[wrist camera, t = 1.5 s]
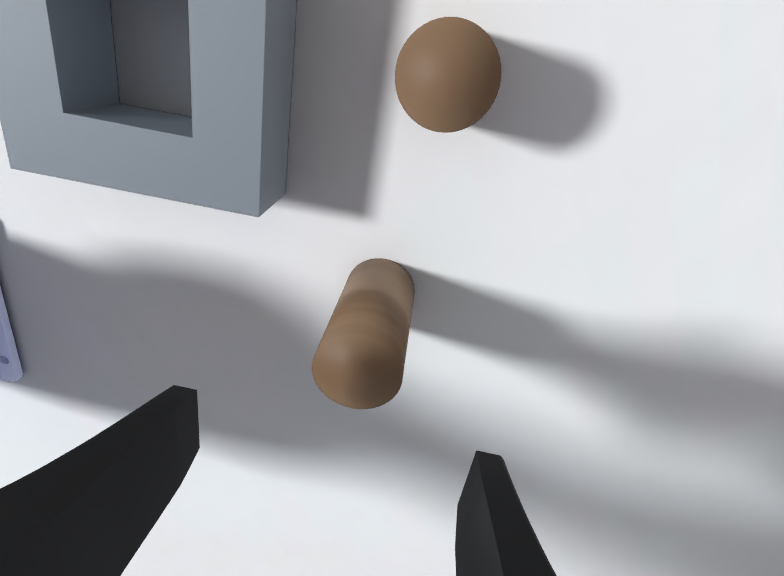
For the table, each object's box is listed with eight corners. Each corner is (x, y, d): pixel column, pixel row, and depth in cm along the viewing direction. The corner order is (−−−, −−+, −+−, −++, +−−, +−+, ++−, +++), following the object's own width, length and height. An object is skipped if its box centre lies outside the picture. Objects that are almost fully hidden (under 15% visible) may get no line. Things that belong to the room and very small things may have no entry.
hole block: (285, 193, 19) (258, 217, 16) (71, 151, 19) (11, 168, 17) (301, -80, 15) (269, -108, 12) (28, -130, 15) (-63, -169, 12)
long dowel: (407, 324, 21) (394, 416, 16) (343, 311, 21) (308, 399, 16) (420, 266, 20) (409, 345, 15) (351, 252, 20) (315, 326, 15)
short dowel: (478, 124, 17) (485, 140, 14) (398, 109, 17) (387, 122, 14) (501, 32, 16) (514, 27, 13) (413, 15, 16) (404, 7, 13)
